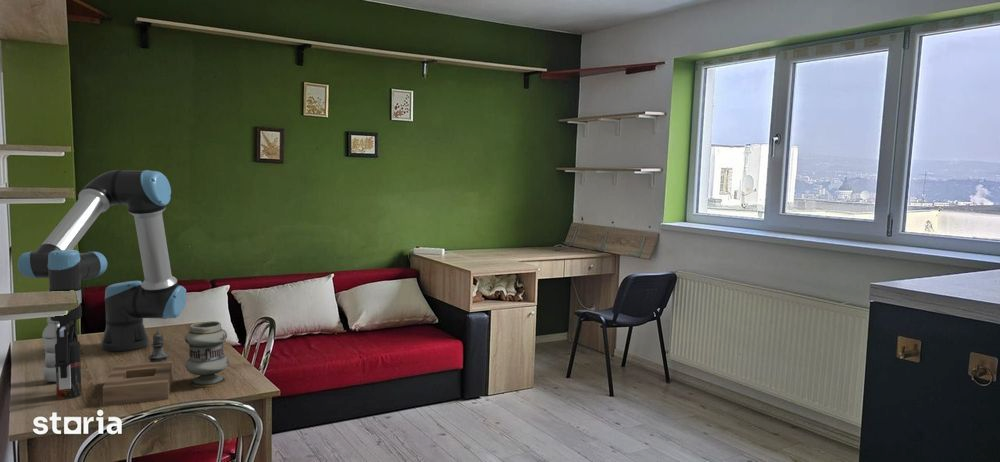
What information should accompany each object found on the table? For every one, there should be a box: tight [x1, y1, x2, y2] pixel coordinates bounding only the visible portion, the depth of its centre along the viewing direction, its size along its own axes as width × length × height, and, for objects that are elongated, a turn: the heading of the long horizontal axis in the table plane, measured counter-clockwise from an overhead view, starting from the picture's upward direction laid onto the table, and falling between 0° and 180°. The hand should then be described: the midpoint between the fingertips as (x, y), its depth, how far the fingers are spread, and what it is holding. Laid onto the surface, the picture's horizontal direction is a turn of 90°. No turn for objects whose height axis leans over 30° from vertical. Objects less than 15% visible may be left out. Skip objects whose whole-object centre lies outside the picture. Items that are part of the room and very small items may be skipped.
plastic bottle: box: [41, 316, 60, 383], centre depth 205 cm, size 6×7×20 cm
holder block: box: [102, 360, 174, 406], centre depth 200 cm, size 22×16×5 cm
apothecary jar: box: [184, 320, 230, 388], centre depth 208 cm, size 12×12×18 cm
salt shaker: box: [147, 330, 169, 363], centre depth 222 cm, size 6×6×12 cm
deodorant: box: [55, 341, 83, 400], centre depth 193 cm, size 6×6×15 cm
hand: (68, 383), depth 194 cm, fingers open, 10 cm apart
